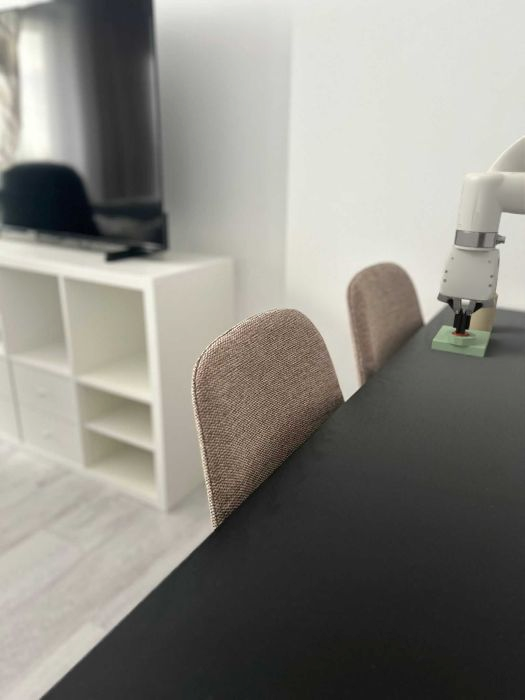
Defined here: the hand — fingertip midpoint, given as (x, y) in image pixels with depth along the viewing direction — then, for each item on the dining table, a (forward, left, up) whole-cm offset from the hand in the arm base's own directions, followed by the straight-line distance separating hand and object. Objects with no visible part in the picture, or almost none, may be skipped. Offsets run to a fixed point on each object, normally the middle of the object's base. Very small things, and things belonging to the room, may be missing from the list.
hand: (460, 332), depth 104 cm
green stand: (+1, -4, -4) cm, 6 cm away
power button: (0, 0, -2) cm, 2 cm away
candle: (+2, -18, -4) cm, 19 cm away
